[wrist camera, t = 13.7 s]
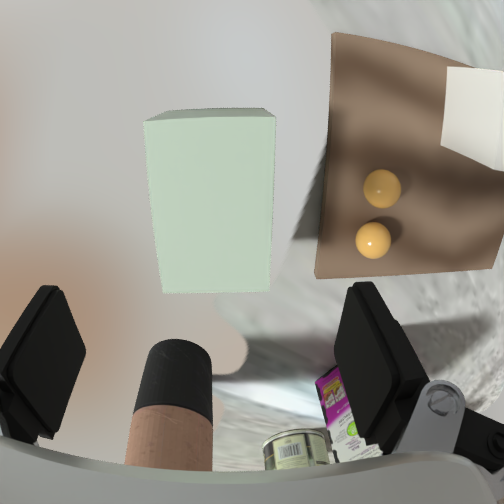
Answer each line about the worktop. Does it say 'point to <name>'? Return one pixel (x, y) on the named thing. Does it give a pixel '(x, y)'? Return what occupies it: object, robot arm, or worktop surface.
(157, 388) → the travel mug
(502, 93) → the white block
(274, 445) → the coffee can
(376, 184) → the marble
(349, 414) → the candy bar box
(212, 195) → the pale green block
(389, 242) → the marble
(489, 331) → the worktop surface
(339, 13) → the worktop surface
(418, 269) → the walnut board
